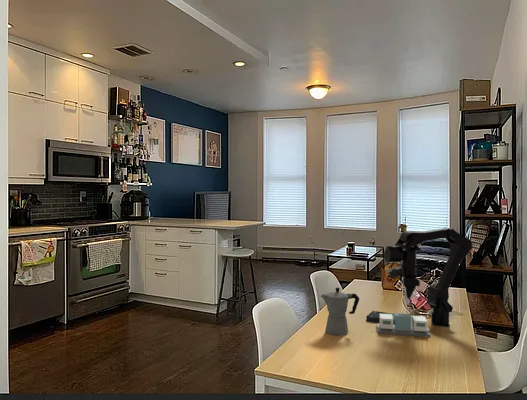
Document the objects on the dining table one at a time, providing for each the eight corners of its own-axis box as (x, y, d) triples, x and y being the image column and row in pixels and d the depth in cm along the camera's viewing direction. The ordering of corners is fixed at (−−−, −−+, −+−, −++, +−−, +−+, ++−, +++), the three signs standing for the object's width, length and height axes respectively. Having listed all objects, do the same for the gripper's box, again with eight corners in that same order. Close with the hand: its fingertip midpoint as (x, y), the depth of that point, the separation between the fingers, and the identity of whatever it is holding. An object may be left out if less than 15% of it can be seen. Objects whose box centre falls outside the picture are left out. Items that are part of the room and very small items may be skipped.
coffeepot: (322, 335, 172) (322, 290, 172) (319, 328, 182) (319, 284, 181) (361, 336, 173) (362, 290, 172) (356, 328, 182) (356, 285, 182)
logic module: (409, 325, 180) (409, 313, 180) (411, 329, 176) (411, 317, 176) (394, 324, 182) (394, 312, 182) (395, 328, 177) (395, 315, 177)
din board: (426, 329, 182) (426, 315, 182) (430, 337, 172) (430, 322, 172) (376, 325, 186) (376, 312, 186) (377, 333, 176) (378, 319, 176)
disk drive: (366, 322, 193) (400, 327, 185) (366, 316, 193) (400, 320, 185) (372, 316, 202) (405, 321, 195) (372, 310, 202) (405, 314, 194)
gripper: (387, 257, 196) (386, 292, 196) (391, 264, 177) (390, 303, 178) (413, 258, 194) (413, 293, 194) (420, 265, 175) (419, 304, 176)
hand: (408, 298), depth 185 cm, fingers closed
